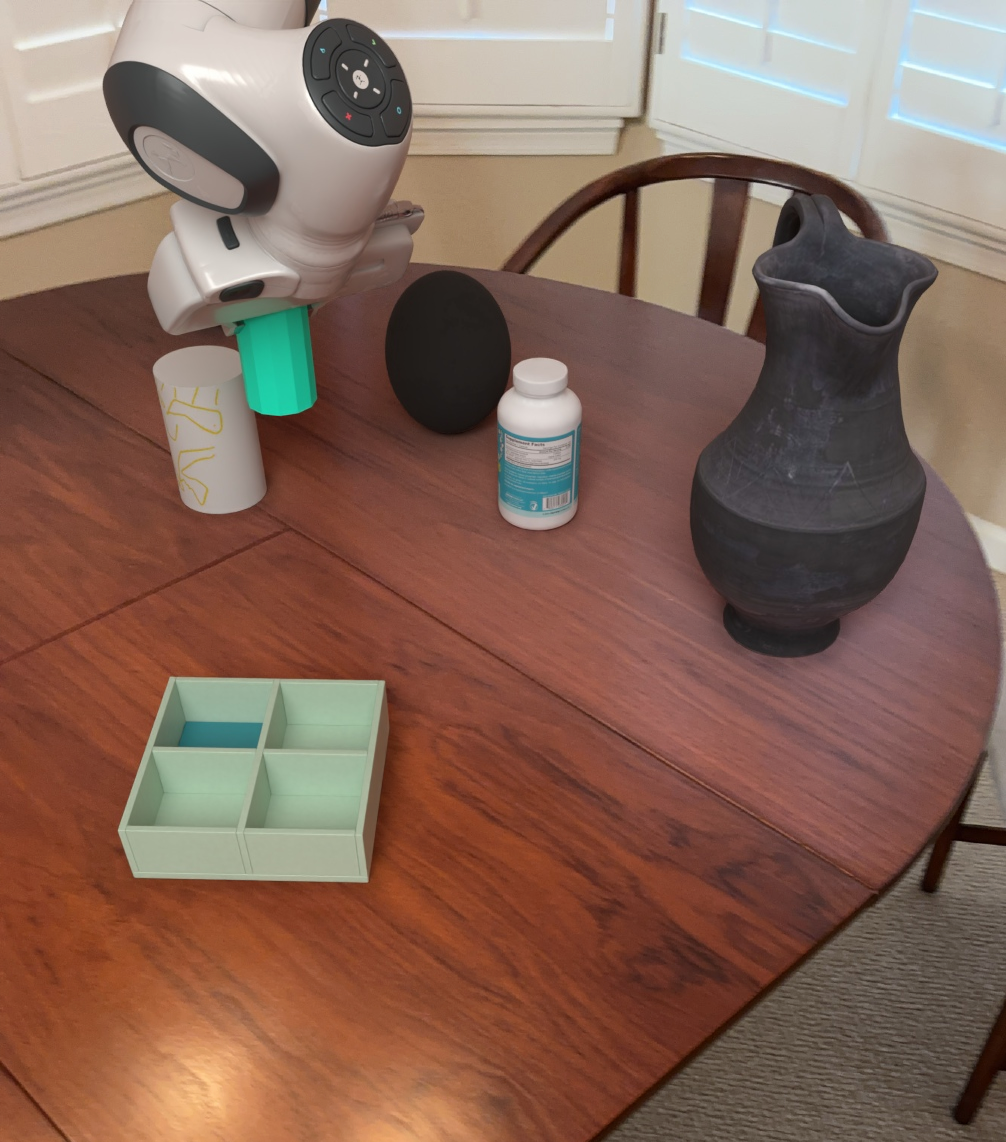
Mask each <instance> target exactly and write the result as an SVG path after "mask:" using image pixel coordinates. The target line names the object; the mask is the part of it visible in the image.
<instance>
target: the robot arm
mask: <svg viewBox="0 0 1006 1142" xmlns="http://www.w3.org/2000/svg"><path fill="white" fill-rule="evenodd" d="M321 2H322V0H132V2H131V4H130V5H129V7H128V9H127V12H126V13H125V16H124V19H123V23H122V25H121V27H120V31H119V33H118V36H117V39H116V42H115V45H114V48H113V50H112V53H111V55H110V58H109V62H108V65H107V67H106V71H105V73H104V75H103V78H102V95H103V99H104V102H105V107H106V109H107V112H108V115H109V117H110V119H111V122H112V124H113V126H114V128H115V130H116V131H117V133H118V135H119V137H120V139H121V140H122V142H123V143H124V145H125V147H126V148H127V150H128V151H129V152H130V154H131V155H132V157H134V159H135V161H136V162H137V163H138V165H140V167H141V168H142V169H143V170H144V171H145V173H146V174H147V175H148V176H149V177H151V179H153V181H155V182H156V183H157V184H159V185H161V186H162V187H164V188H165V189H167V190H168V191H170V192H172V193H174V194H175V195H176V196H179V197H181V198H180V199H178V200H176V201H175V202H174V203H172V205H171V206H170V209H169V213H168V215H169V220H170V223H171V226H172V230H170V231H169V232H168V233H167V234H166V235H165V236H163V238H162V239H161V240H160V242H159V244H158V246H157V248H156V250H155V252H154V256H153V259H152V262H151V266H150V270H149V273H148V277H147V287H146V288H147V294H148V298H149V300H150V303H151V305H152V309H153V311H154V313H155V316H156V318H157V320H158V322H159V325H160V327H161V328H162V330H163V331H164V332H166V333H167V334H169V335H172V336H180V335H184V334H187V333H192V332H196V331H200V330H201V331H202V330H205V329H209V328H213V327H218V326H221V329H222V331H223V333H224V336H226V337H231V336H235V335H236V334H239V333H240V332H241V330H242V329H243V328H244V326H245V325H246V324H245V323H244V321H243V320H244V319H249V318H253V317H257V316H262V315H266V314H270V313H275V312H279V311H283V310H288V309H292V308H297V307H301V306H305V305H307V310H308V318H313V317H316V316H317V313H318V312H319V310H320V309H321V308H322V307H324V306H325V305H327V304H328V303H330V302H332V301H333V300H335V299H341V298H344V297H349V296H353V295H358V294H362V293H366V292H370V291H375V290H379V289H383V288H388V287H391V286H392V285H394V284H396V283H398V282H399V281H400V280H401V279H403V277H404V276H405V274H406V272H407V270H408V266H409V265H410V262H411V259H412V256H413V252H414V246H415V245H414V244H415V243H414V239H413V235H414V234H415V233H417V231H418V230H419V229H420V227H421V225H422V223H423V222H424V220H425V216H426V215H425V209H424V207H423V206H422V205H421V204H415V203H414V204H413V202H412V201H411V200H409V199H408V200H407V199H403V200H396V199H394V198H392V196H393V193H394V191H395V189H396V187H397V184H398V182H399V180H400V177H401V175H402V172H403V170H404V167H405V164H406V161H407V158H408V155H409V151H410V146H411V142H412V137H413V130H414V129H413V128H414V105H413V97H412V91H411V88H410V85H409V81H408V78H407V75H406V72H405V70H404V68H403V66H402V63H401V62H400V60H399V58H398V56H397V54H396V53H395V52H394V50H393V49H392V47H391V46H390V44H388V42H387V41H386V40H385V39H384V38H383V37H382V35H380V34H379V33H378V32H377V31H375V30H374V29H372V28H371V27H369V26H367V24H365V23H362V22H360V21H358V20H356V19H352V18H349V17H341V16H339V17H338V16H337V17H329V18H328V17H327V18H325V19H322V20H319V21H317V22H315V23H312V22H313V19H314V18H315V15H316V13H317V12H318V11H317V10H318V8H319V7H320V5H321ZM311 23H312V24H311Z"/></svg>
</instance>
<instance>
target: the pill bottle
mask: <svg viewBox="0 0 1006 1142" xmlns="http://www.w3.org/2000/svg"><path fill="white" fill-rule="evenodd" d="M512 369H513V370H512V387H511V388H509V389H508V390H506V391H505V392H504V394H503V396H502V398H501V399H500V401H499V403H498V405H497V409H496V412H497V413H496V414H497V416H496V417H497V502H498V503H497V506H498V510H499V512H500V515H501V516H502V518H503V519H504V520H505V521H506V522H507V523H509V524H511V525H513V526H515V527H517V528H520V529H522V530H523V529H524V530H528V531H547V530H554V529H556V528H560V527H562V526H564V525H566V524H568V522H570V521H571V520H572V519H573V518H574V516H575V515H576V513H577V510H578V503H579V487H580V485H579V484H580V464H581V463H580V460H581V442H582V420H583V408H582V403H581V400H580V399H579V396H578V395H577V394H576V393H575V392H574V391H573V390H571V389H570V388H569V387H567V386H568V385H569V370H568V366H567V365H566V364H564V363H563V361H560V360H557V359H555V358H549V357H531V358H527V359H524V360H521V361H518V362H517V363H516V364H515V365H514V366H513V368H512Z"/></svg>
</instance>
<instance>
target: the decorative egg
mask: <svg viewBox="0 0 1006 1142" xmlns="http://www.w3.org/2000/svg"><path fill="white" fill-rule="evenodd" d="M384 358H385V359H384V360H385V367H386V372H387V376H388V379H389V382H390V386H391V388H392V390H393V393H394V395H395V396H396V398H397V401H398V402H399V403H400V406H402V408H403V409H404V411H405V412H406V413H407V414H408V415H409V416H410V417H411V418H412V419H413V420H414V421H416V422H417V423H418V424H420V425H421V426H423V427H424V428H426V429H429V430H431V431H434V432H437V433H440V434H441V433H442V434H460V433H464V432H466V431H467V432H468V431H470V430H471V429H474V428H476V427H477V426H479V425H480V424H481V423H483V422H484V421H485V420H486V419H487V418H489V417H490V415H491V414H493V412H494V411H495V410H496V408H498V404H499V401H500V399H501V398H502V396H503V395H504V394H505V392H506V388H507V386H508V383H509V379H510V374H511V367H512V342H511V336H510V331H509V327H508V323H507V320H506V318H505V314H504V313H503V310H502V308H501V306H500V305H499V303H498V301H497V300H496V298H495V297H494V296H493V294H492V293H491V292H490V291H489V289H488V288H486V286H485V285H483V283H481V282H480V281H478V280H477V279H476V278H475V277H472V276H470V275H469V274H466V273H463V272H461V271H456V270H450V269H449V270H447V269H442V270H436V271H433V272H432V271H431V272H429V273H426V274H424V275H422V276H420V277H419V278H417V279H415V280H414V281H413V282H412V283H411V284H409V285H408V286H407V287H406V288H405V290H404V291H403V292H402V293H401V295H400V296H399V297H398V299H397V301H396V302H395V304H394V307H393V308H392V311H391V313H390V316H389V319H388V322H387V326H386V331H385V339H384Z"/></svg>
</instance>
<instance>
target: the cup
mask: <svg viewBox="0 0 1006 1142" xmlns="http://www.w3.org/2000/svg"><path fill="white" fill-rule="evenodd" d="M152 374H153V378H154V382H155V387H156V391H157V396H158V402H159V405H160V410H161V414H162V419H163V423H164V428H165V432H166V436H167V437H166V438H167V441H168V446H169V449H170V450H169V451H170V454H171V455H170V456H171V459H172V463H173V467H174V473H175V476H176V482H177V486H178V490H179V494H180V499H181V502H182V503H183V504H184V505H185V506H186V507H188V508H190V509H191V510H192V511H196V512H198V513H204V514H209V515H224V514H232V513H237V512H241V511H243V510H246V509H249V508H251V507H254V506H255V505H256V504H258V503H259V502H260V501H261V500H263V498H264V497H265V495H266V493H267V489H268V486H267V479H266V473H265V467H264V462H263V456H262V450H261V449H262V448H261V444H260V443H261V442H260V436H259V430H258V424H257V418H256V413H255V412H256V411H255V410H253V409H251V408H250V407H249V405H248V402H247V400H246V394H245V387H244V381H243V375H242V368H241V362H240V355H239V351H237V350H235V349H233V348H229V347H226V346H220V345H194V346H188V347H183V348H179V349H176V350H173V351H170V352H169V353H166V354H165V355H162V356H161V357H160V358H158V360H156V362H155V363H154V365H153V366H152Z"/></svg>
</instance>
